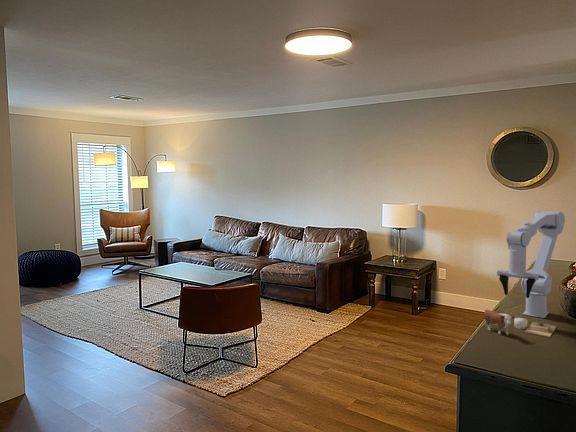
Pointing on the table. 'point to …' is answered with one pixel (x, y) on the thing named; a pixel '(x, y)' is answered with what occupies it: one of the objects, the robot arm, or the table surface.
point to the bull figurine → (497, 320)
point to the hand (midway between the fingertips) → (516, 295)
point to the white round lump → (520, 323)
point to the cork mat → (540, 333)
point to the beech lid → (540, 327)
